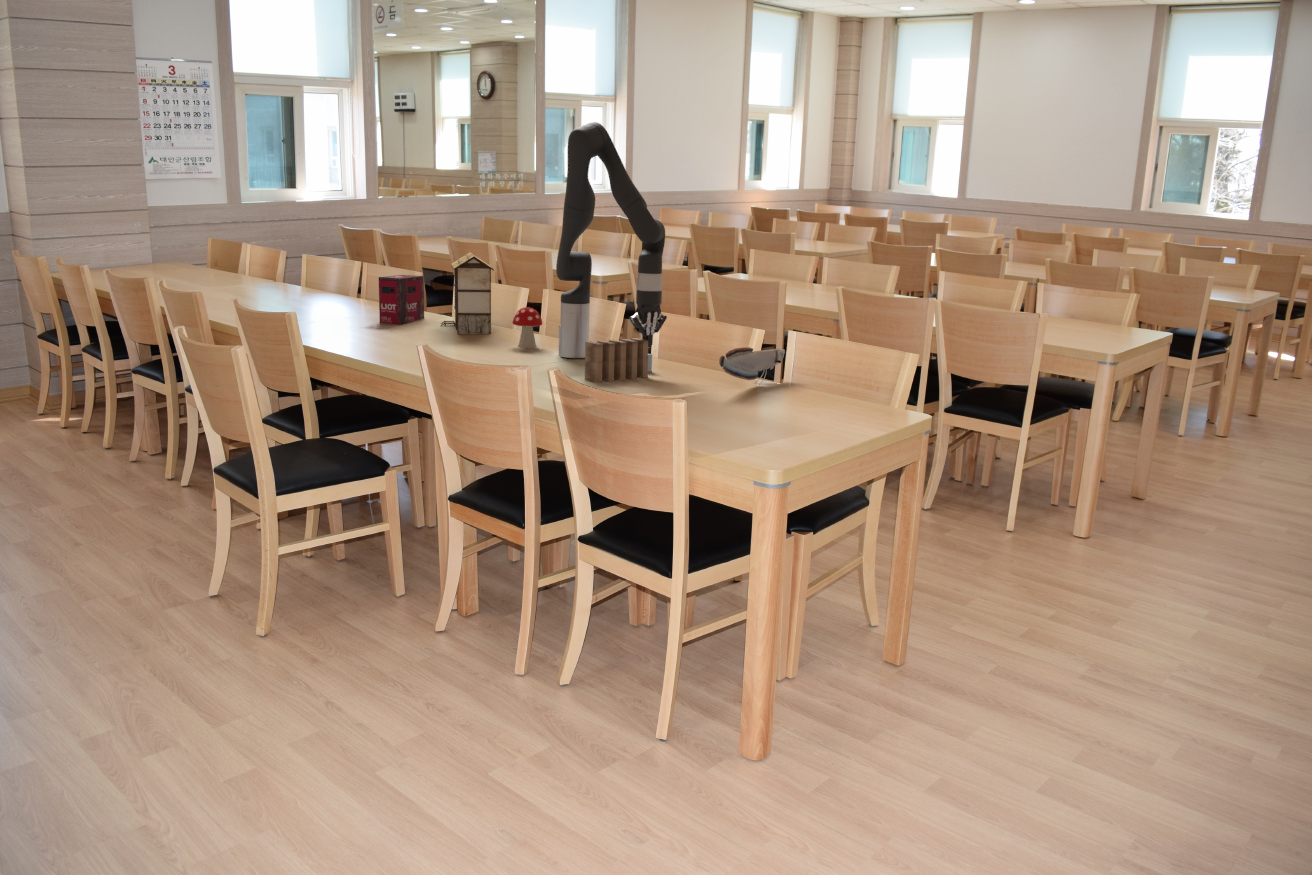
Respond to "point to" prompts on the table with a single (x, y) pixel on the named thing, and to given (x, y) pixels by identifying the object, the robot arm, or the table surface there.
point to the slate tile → (649, 362)
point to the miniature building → (472, 295)
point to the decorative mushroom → (527, 326)
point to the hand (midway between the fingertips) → (647, 347)
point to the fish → (750, 362)
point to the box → (401, 299)
